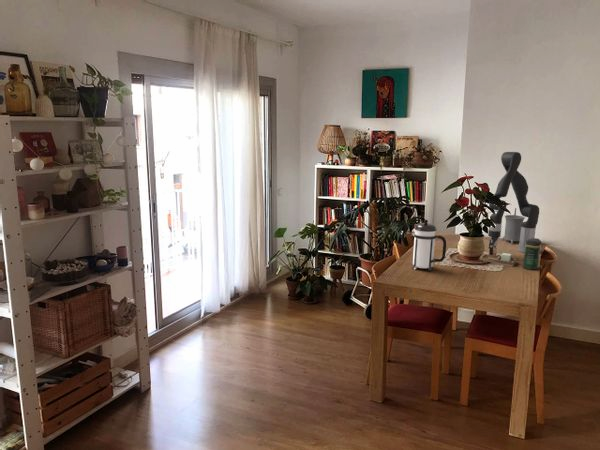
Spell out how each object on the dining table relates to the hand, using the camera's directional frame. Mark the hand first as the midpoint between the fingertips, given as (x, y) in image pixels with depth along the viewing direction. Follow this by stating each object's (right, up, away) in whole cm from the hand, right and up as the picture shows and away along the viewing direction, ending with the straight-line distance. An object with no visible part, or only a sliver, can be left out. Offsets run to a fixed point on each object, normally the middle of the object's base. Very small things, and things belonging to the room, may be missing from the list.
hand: (492, 253), depth 322 cm
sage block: (+2, -5, -15) cm, 16 cm away
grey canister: (+32, +6, +43) cm, 54 cm away
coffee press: (-53, -7, -29) cm, 61 cm away
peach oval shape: (0, -2, 0) cm, 2 cm away
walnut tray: (-2, -5, -12) cm, 13 cm away
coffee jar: (+14, -8, -24) cm, 29 cm away
